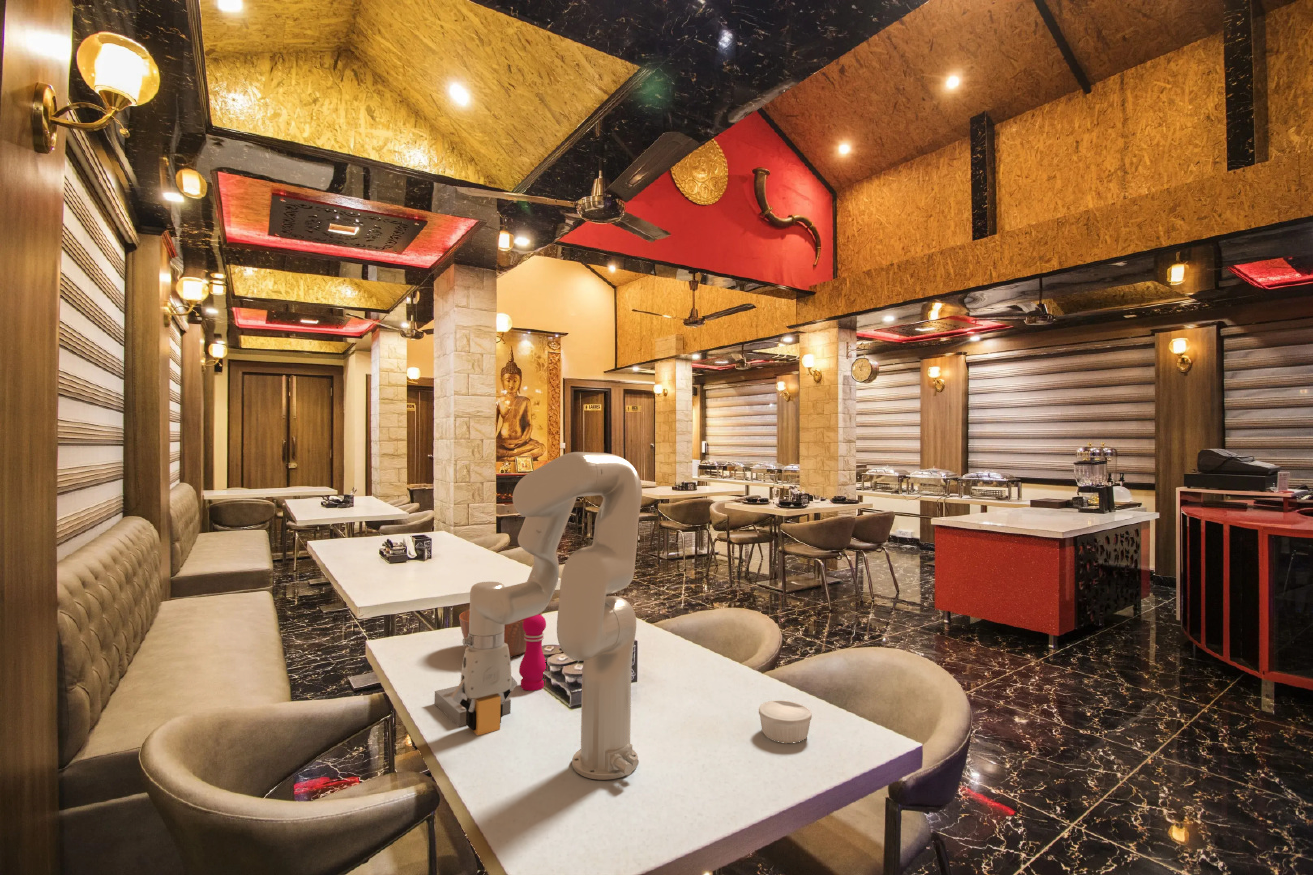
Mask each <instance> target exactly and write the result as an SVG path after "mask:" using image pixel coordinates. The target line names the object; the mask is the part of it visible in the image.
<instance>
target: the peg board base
mask: <svg viewBox="0 0 1313 875" xmlns="http://www.w3.org/2000/svg"><path fill="white" fill-rule="evenodd" d="M458 686H459V685H455V686H452V687H447V688H442V689H437V690H434V705H435V706H436V707H437V706H438V707H437V708H438V709H439V708H440V709H439V710H440V711H441V712H442V713H444V715H446V716H447V717H448V718H449V719H450V720H451V721H453V723H455V724H456V726H458V727H459V728H460V727H463V726H464V727H465V726H467V725H466V708H464V707H463V706H462V705H461V704H459V703H457V702H455V701H454V700H453V699H452V698H451V696H452V694H453V693H454V691H455V690H456V689H457V687H458ZM461 697H462V698H464V699H465V700H466V697H467V696H466V695H465V694H464V693H462V695H461ZM511 703H512V701H511V698H509V697H507V698H506V699H505V703H504V704H503V715H502V716H505V715H508V714H511V708H512V707H511Z"/></svg>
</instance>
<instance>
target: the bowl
mask: <svg viewBox="0 0 1313 875" xmlns="http://www.w3.org/2000/svg"><path fill="white" fill-rule="evenodd" d="M539 615H541V616H543V611H542V612H541V613H540V614H539ZM458 617H459V624H460V629H461V634H462V636H463V639H465V638H467V637H468V633H469V617H470V609H467V610H465V611H463V612H461V613H460V614H459V616H458ZM523 621H524V619H523V620H520V621H517V622H514V623H511V624H506V625H505V630H504V643H506V644H508V648H509V654H510V658H512V657H513V656H514V657H517V656H519V655H522V654H525V651H526V640H525V639H524V638H525V636H524V634H525V633H526V632H525V631H524V630H523ZM467 647H469V646H468V645H466V648H467Z"/></svg>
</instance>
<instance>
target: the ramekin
mask: <svg viewBox="0 0 1313 875" xmlns="http://www.w3.org/2000/svg"><path fill="white" fill-rule="evenodd" d="M758 715H759V719H760V727H761V731H762V733H763V734H764V735H765V737H766V738H767V739H769V738H770V739H769V740H771V739H772V740H771V741H773V740H775V741H774V742H776V741H779V742H778V743H780V742H784V743H783V744H787V743H793V742H799V741H802V740H803V741H805V740H806V739H807V737H808V734H809V731H810V730H809V729H810V724H811V720H812V718H813V716H812V715H813V713H812V711H811V709H809V708H808V707H807V706H805V705H803V704H800V703H797V702H793V701H788V700H770V701H766V702H763V703H761V704H760V705H759V706H758ZM804 739H805V740H804ZM803 741H802V742H803ZM799 743H800V742H799Z"/></svg>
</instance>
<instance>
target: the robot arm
mask: <svg viewBox="0 0 1313 875" xmlns="http://www.w3.org/2000/svg"><path fill="white" fill-rule="evenodd" d="M642 487H643V486H642V481H641V478H640V476H639V473H638V471H637V469H636V468H635V467H634V465H632V464H631V463H630V461H628V460H627V459H625V458H623V457H621V456H619V455H617V454H612V453H607V452H585V451H573V452H572V451H571V452H568V453H564V454H562V455H560V456H558V457H556V458H554V459H552V460H551V461H549V462H547V463H546V464H545V463H544V465H542V466H540V467H538V468H536V469H534V470H532V471H531V472H529V473H527V474H526V475H524V476H523V477H522V478H520V480H519V481H518V482H517V484H516V485H515V487H514V490H513V491H512V492H513V493H512V504H513V507H514V509H515V511H516V512H517V513H518V514H519V515H521V516H523V517H525V518H524V520H523V524H522V526H521V528H520V530H519V533H518V535H517V543H518V545H519V547H520V548H521V549H522V550H524V551H525V552H526V553H528V554H530V555H532V556H533V565H532V568H531V571H530V573H529V576H528V579H527V581H525V582H521V583H516V584H512V585H510V586H505V585H504V584H503V583H502V582H500V581H499V582H498V581H482V582H477V583H475V584H473V585H472V586H471V588H470V592H469V610H470V617H469V633H468V637H467V638H465V639H464V638H462V645H463V646H466V648H465V650H464V655H463V658H462V659H463V660H462V665H461V671H460V672H461V674H460V682H459V684H458V685H457V686H458V687H457V689H456V690H455V691H454V693H453V694H452V696H451V698H452V699H453V700H454V701H455V702H457V703H459V704H461V705H462V706H463V707H464V708H466V725H465V726H467V727H468V728H469V729H470V730H471V731H472V732H473V731H474V730H476V711H475V705H476V702H477V698H482V697H486V696H490V695H494V694H498V695H500V696H501V709H500V724H501V723H502V718H503V716H504V715H503V704H504V703H505V699H506V698H509V695H510V694H511V692H512V691H514V689H515V688H516V687H517V686H518V682H517V681H516V680H515V678H514V677H513V676H512V666H511V665H512V664H511V657H510V654H509V648H508V644H506V643H504V630H505V625H506V624H511V623H514V622H517V621H520V620H523V619H526V618H529V617H532V616H535V615H538V614H540V613H541V612H542V613H543V612H544V611H545V610H546V608H547V607H548V605H549V603H550V602H551V600H552V597H553V595H554V592H555V590H556V588H557V584H558V581H559V577H560V564H559V563H560V562H559V558H558V554H557V551H558V547H559V544H560V543H561V539H562V536H563V534H564V531H565V529H566V527H567V524H568V521H569V518H570V516H571V513H572V511H573V509H574V506H575V504H576V502H577V501H576V500H577V498H579V497H592V496H593V497H595V496H601V497H602V501H601V504H600V506H599V508H598V511H597V514H596V517H595V521H594V532H593V539H592V543H591V545H588V546H585V547H581V548H578V549H577V550H575V551H574V552H573V553H571V554H570V555H569V556H568V558H567V559H566V561H565V563H564V565H563V569H562V572H561V578H560V584H559V585H560V586H559V596H558V598H559V599H558V609H557V619H556V636H557V641H558V645H559V647H560V649H561V651H562V652H563V653H564V655H565V656H566V657H568V658H569V659H571V660H574V661H576V662H577V661H579V662H580V661H583V664H582V673H581V674H582V675H581V677H582V678H581V710H580V711H581V712H580V713H581V717H580V718H581V719H580V720H581V721H580V722H581V723H580V749H579V750H578V751H575V753H574V754H573V755H572V756H573V757H572V758H571V759H572V761H571V762H572V763H571V764H572V768H573V770H574V771H575V772H576V773H577V774H579V775H580V776H581V777H584V778H587V779H591V780H598V781H599V780H600V781H607V780H608V781H609V780H615V779H620V778H623V777H625V776H630V775H631V774H632V772H633V771H634V770H636V768H637V767H638V766H639V763H640V761H639V756H638V753H637V752H636V751H635V750H634V749H633V744H632V743H631V712H632V711H631V710H632V709H631V708H632V706H631V705H632V667H633V666H632V662H633V652H634V646H635V640H636V633H637V617H636V615H637V614H636V612H635V610H634V608H633V606H632V605H631V604H630V602H629V601H627V600H626V599H625V598H623V597H620V596H615V595H611V594H614V593H616V592H619V591H622V590H624V589H625V588H627V587H628V586H629V585H630V584H631V583H632V582H633V579H634V576H635V569H636V558H637V550H638V549H637V548H638V545H637V544H638V536H639V534H638V533H639V521H640V514H641V513H640V512H641V506H642V499H643V488H642ZM607 595H608V596H607ZM610 595H611V596H610ZM467 645H468V646H469V647H467ZM462 693H464V694H465V695H466V696H467V697H466V700H465V699H464V698H462V697H461V695H462Z"/></svg>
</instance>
